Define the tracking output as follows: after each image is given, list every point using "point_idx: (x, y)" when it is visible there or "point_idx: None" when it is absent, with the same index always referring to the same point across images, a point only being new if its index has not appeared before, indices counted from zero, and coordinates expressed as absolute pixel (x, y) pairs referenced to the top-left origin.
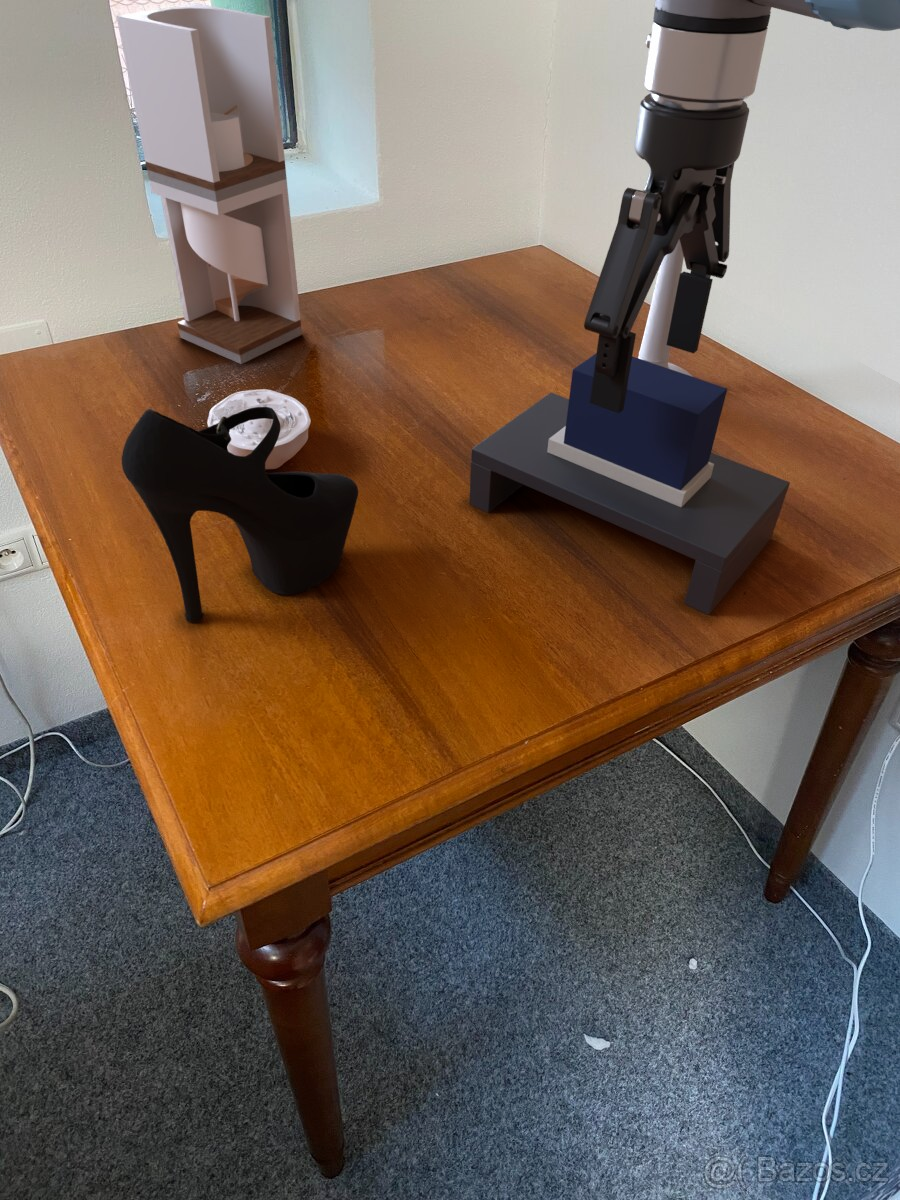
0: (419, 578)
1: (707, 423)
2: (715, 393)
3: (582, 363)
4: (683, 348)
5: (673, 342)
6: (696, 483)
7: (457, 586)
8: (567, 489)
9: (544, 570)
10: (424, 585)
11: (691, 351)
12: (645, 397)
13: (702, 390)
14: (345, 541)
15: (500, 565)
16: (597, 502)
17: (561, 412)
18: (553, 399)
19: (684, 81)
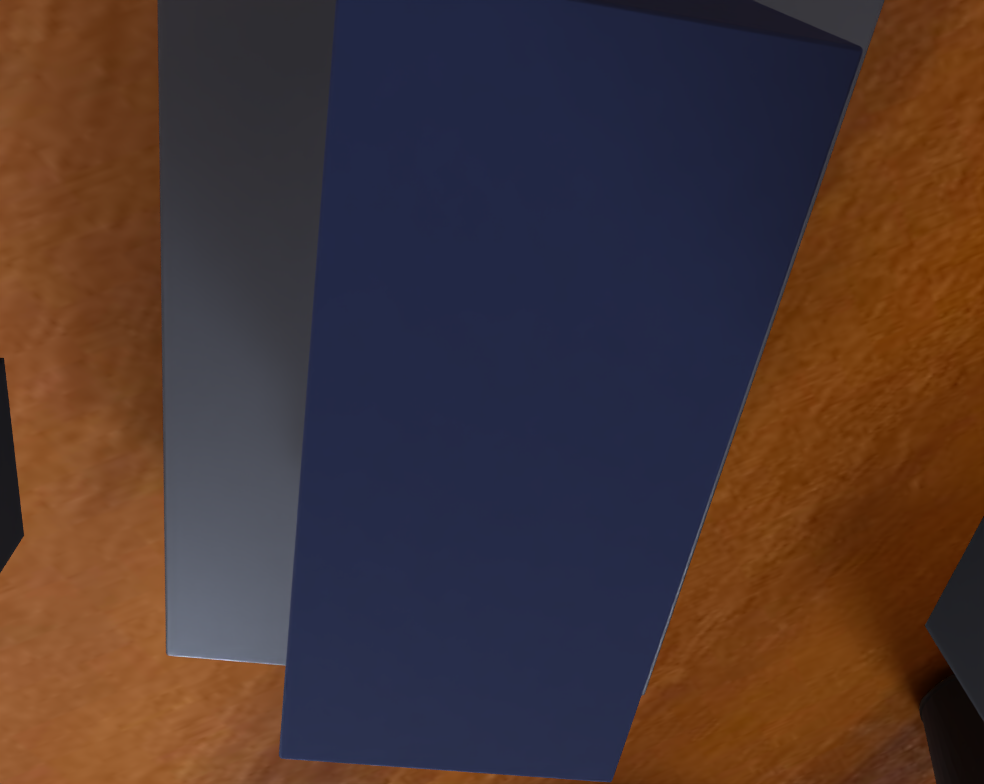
0: (951, 518)
1: None
2: (481, 26)
3: (526, 773)
4: (3, 437)
5: (8, 518)
6: None
7: (956, 436)
8: (747, 388)
9: (816, 277)
10: (974, 498)
11: (3, 380)
12: (733, 422)
13: (481, 133)
14: (972, 705)
15: (836, 385)
16: (789, 270)
17: (271, 582)
18: (206, 632)
19: None
